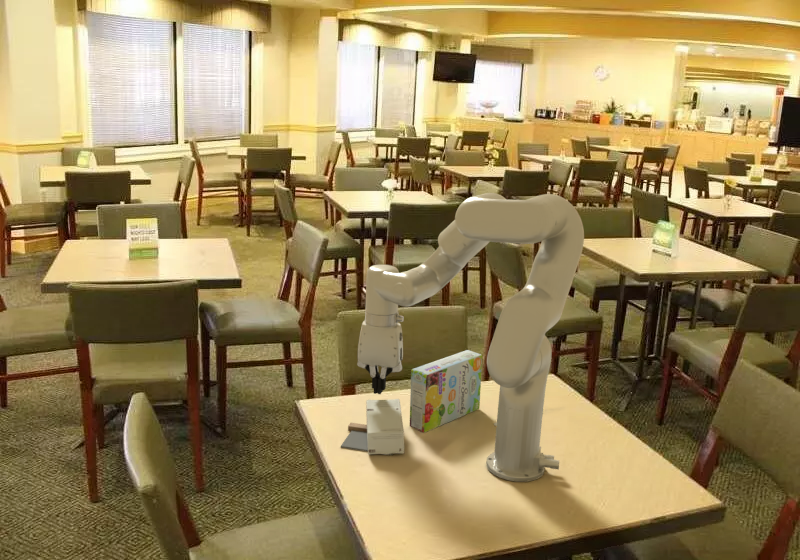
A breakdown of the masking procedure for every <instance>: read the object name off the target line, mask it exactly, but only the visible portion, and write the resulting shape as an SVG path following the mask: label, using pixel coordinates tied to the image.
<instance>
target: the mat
mask: <svg viewBox="0 0 800 560" xmlns="http://www.w3.org/2000/svg"><path fill="white" fill-rule="evenodd" d="M340 448H341V449H342V448H343V449H349V450H356V451H360V452H361V451H362V452H367V453H368V441H367V432H363V431H356V430H352V431H349V434H348V435H347V436H346V437H345V439H344V441H343V442H342V444H341V445H340ZM385 455H387V456H393V455H394V453H391V454H385Z"/></svg>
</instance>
